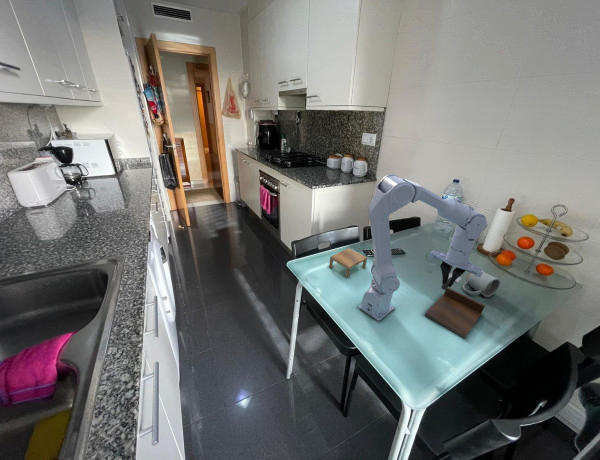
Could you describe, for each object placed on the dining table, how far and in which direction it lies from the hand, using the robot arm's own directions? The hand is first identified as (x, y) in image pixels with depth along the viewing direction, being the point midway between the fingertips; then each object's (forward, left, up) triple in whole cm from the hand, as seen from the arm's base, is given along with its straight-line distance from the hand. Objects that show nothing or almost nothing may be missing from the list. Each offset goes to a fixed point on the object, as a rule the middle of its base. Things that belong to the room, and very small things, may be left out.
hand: (447, 284), depth 81 cm
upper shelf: (-6, +36, -10) cm, 37 cm away
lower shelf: (0, -4, -10) cm, 11 cm away
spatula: (+2, 0, 0) cm, 2 cm away
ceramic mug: (+21, -5, -10) cm, 24 cm away
